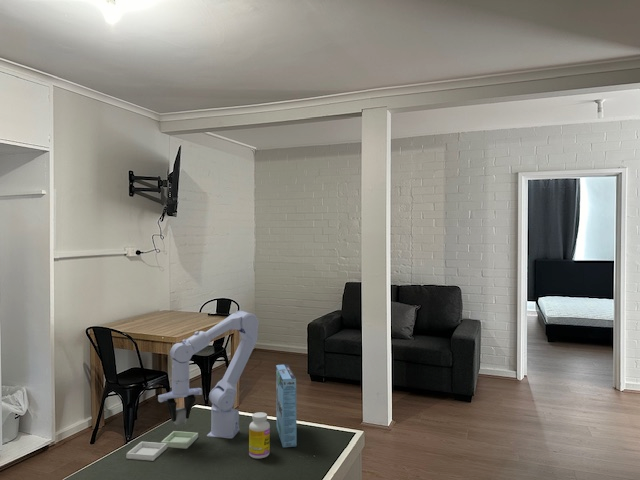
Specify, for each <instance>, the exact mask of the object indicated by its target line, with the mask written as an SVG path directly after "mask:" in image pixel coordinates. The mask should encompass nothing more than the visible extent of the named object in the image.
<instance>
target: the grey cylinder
mask: <svg viewBox="0 0 640 480" xmlns="http://www.w3.org/2000/svg"><path fill="white" fill-rule="evenodd" d="M186 423H187V418H186V408H185V406H184V407H181V406H179V407H176V421H174V422H173V425H176V426H183V425H186Z"/></svg>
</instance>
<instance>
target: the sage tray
mask: <svg viewBox="0 0 640 480" xmlns="http://www.w3.org/2000/svg"><path fill="white" fill-rule="evenodd" d="M198 438H199V432H194V431H193V432H191V431H177V430H173V431H172V432H171V433H169V435H167V436H165V438H163V440H161V441H160V443H167V448H172V449H173V448H174V449H188V448H189V447H190V446H192V444H193V443H194V442H195V441H196V440H197V439H198Z"/></svg>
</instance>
